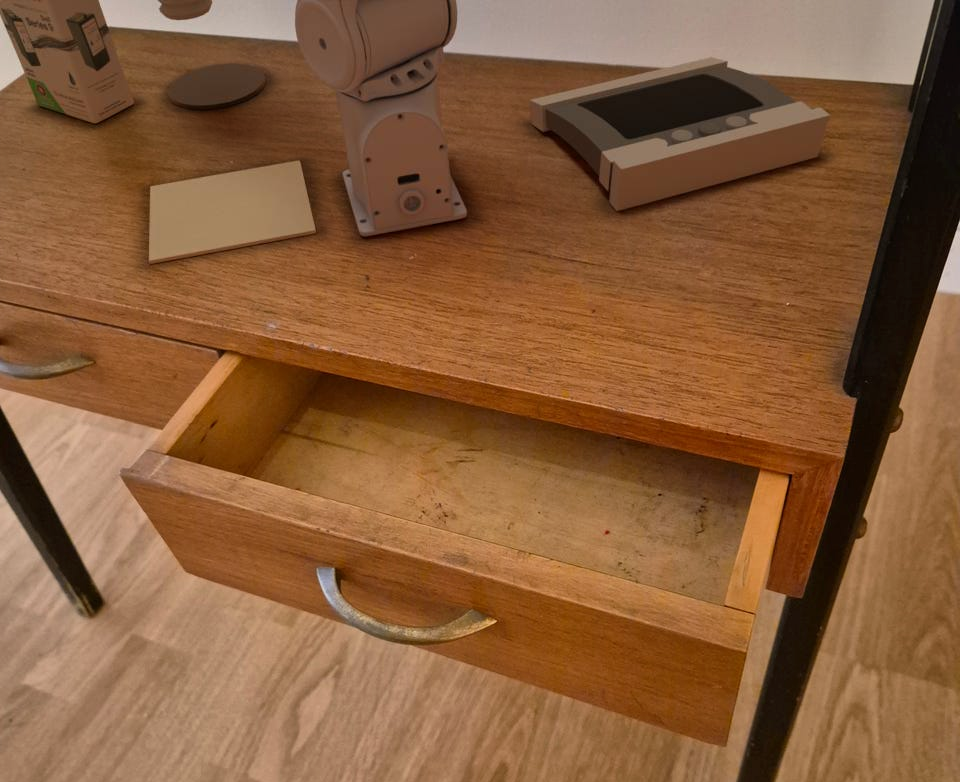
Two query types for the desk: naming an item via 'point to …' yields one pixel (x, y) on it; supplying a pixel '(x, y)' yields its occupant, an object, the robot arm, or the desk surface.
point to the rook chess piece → (184, 8)
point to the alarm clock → (681, 129)
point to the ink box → (68, 56)
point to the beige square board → (228, 211)
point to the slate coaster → (216, 86)
